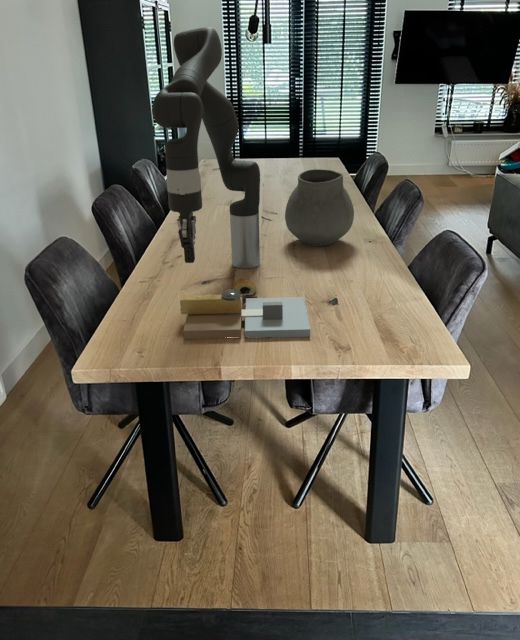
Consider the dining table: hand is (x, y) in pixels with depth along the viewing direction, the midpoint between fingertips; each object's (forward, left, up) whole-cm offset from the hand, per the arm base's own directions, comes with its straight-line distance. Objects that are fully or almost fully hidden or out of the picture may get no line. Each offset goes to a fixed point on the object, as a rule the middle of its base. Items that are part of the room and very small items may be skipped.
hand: (190, 261), depth 135 cm
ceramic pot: (-71, +38, -19) cm, 82 cm away
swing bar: (-7, +4, -16) cm, 18 cm away
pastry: (-26, +12, -20) cm, 35 cm away
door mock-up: (-7, +12, -19) cm, 23 cm away
